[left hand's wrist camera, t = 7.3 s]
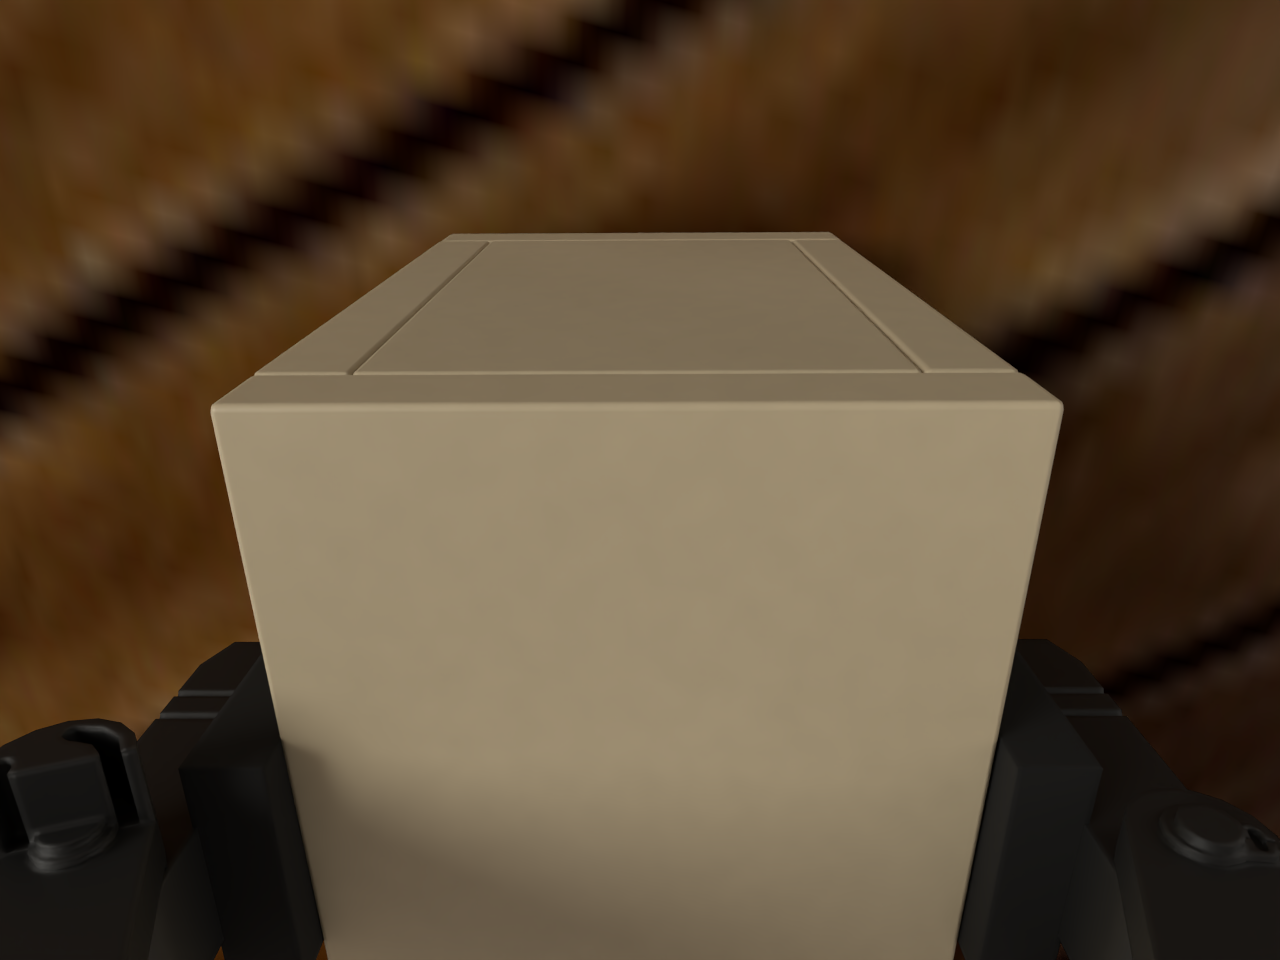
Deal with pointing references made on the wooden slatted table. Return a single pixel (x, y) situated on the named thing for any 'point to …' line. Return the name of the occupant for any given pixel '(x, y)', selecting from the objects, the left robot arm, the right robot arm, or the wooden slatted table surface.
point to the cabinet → (638, 598)
